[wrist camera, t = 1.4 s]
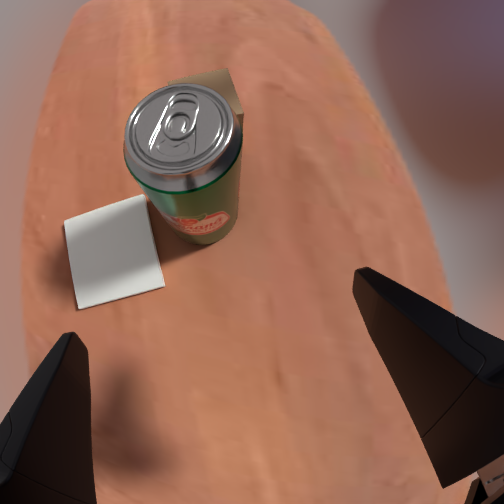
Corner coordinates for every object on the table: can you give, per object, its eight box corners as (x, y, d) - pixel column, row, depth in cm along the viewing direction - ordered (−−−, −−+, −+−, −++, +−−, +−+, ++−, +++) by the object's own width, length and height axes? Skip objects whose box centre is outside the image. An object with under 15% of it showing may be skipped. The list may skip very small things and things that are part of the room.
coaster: (165, 286, 22) (163, 285, 21) (82, 309, 21) (78, 308, 20) (145, 196, 23) (143, 193, 22) (67, 222, 22) (64, 220, 21)
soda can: (164, 242, 22) (100, 179, 10) (176, 177, 23) (135, 75, 11) (233, 250, 22) (234, 191, 11) (241, 184, 23) (251, 80, 12)
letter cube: (241, 144, 24) (243, 113, 20) (182, 159, 24) (172, 130, 19) (227, 102, 25) (227, 68, 20) (172, 115, 24) (163, 83, 20)
